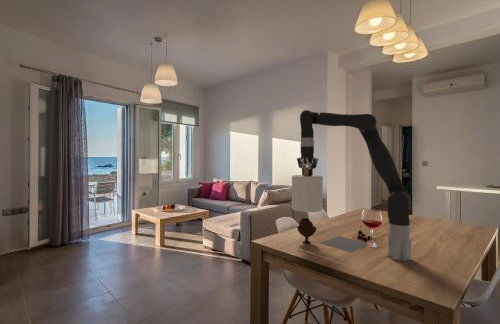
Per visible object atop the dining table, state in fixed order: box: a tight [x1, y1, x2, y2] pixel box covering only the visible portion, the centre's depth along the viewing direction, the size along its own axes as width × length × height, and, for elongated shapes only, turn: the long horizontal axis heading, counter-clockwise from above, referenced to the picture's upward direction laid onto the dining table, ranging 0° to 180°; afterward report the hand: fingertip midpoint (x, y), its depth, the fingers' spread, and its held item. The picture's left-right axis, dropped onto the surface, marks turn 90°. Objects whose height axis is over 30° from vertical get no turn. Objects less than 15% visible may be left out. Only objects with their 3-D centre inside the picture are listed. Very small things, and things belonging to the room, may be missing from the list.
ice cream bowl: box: [296, 217, 317, 245], centre depth 158 cm, size 11×11×15 cm
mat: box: [319, 235, 371, 254], centre depth 156 cm, size 20×20×1 cm
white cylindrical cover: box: [291, 166, 324, 213], centre depth 157 cm, size 17×17×24 cm
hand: (307, 175), depth 157 cm, fingers closed on white cylindrical cover, 4 cm apart
